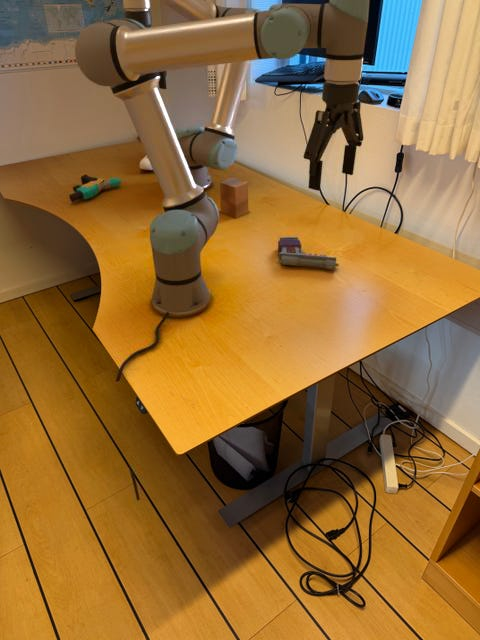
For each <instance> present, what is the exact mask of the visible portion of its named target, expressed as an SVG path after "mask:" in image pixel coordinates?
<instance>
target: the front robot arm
mask: <svg viewBox="0 0 480 640" xmlns="http://www.w3.org/2000/svg"><path fill="white" fill-rule="evenodd" d="M369 12H370V0H328V2H325V3H321V4H320V3H319V4H317V3H315V4H314V3H290V2H284V3H279V4H278V3H277V4H272V5H271V6H269V8H268V10H261V12H254V13H247V14H240V15H234V16H227V17H220V18H213V19H206V20H199V21H193V22H192V21H187V22H186V21H185V22H180V23H173V24H166V25H159V26H151V28H146V27H145V26H144V25H142V24H141V23H139V22H137V21H135V20H132V19H125V17H117V18H115V19H110V20H106V21H100V22H93V23H91V24H89V25H87V26H85V28H83V29H82V30H81V31H80V32H79V34H78V35H77V39H76V41H75V46H74V54H75V55H74V56H75V60H76V63H77V66H78V67H79V69H80V72H81V73H82V74H83V75H84V76H85V78H87V79H88V80H89V81H91V82H92V83H93V84H95V85H98V86H101V87H109V88H110V90H111V92H112V95H113V96H114V97H116V98H118V99H119V100H121V101H122V102H123V104H124V106H125V109H126V110H127V113H128V116H129V117H130V120H131V122H132V124H133V126H134V129H135V132H136V133H137V137H138V136H139V138H140V140H139V141H140V143H141V145H142V148H143V150H144V152H145V156H146V155H147V157H148V159H149V161H150V164H151V166H152V168H153V170H152V171H153V173H154V175H155V177H156V180H157V183H158V186H159V187H160V189H161V192H162V194H163V199H162V202H161V206H162V209H163V211H164V212H163V213H162V212H161V213H159V214H158V215H156V216H155V217H154V218H153V219H152V221H151V222H150V225H149V241H150V247H151V253H152V260H153V261H152V262H153V268H154V274H155V275H154V276H155V281H154V284H153V290H152V294H151V305H152V308H153V310H154V311H155V312H156V313H157V314H159V315H160V316H163V317H162V319H160V322H159V323H158V324H157V326H156V327H155V331H154V333H155V340H154V342H153V343H151V344H150V345H149V346H147V347H143V348H141V349H138V350H136V351H135V352H133V353H132V354H130V355H129V356H128V357H127V358H126V359H125V360H124V361H123V362H122V364H121V365H120V366H119V369H118V371H117V375H116V378H115V382H116V383H117V382H120V380H121V377H122V374H123V371H124V369H125V367H126V365H127V364H128V363H130V361H131V360H132V359H134V358H135V357H136V356H137V355H140V354H142V353H144V352H147V351H149V350H152V349H153V348H155V347H156V346H157V345H158V343H159V341H160V335H159V331H160V329H161V328H162V325H163V324H164V323H165V321H166V320H167V318H171V319H183V318H185V319H186V318H190V317H194V316H196V315H199V314H201V313H202V312H204V311H205V310H207V308H208V307H209V306H210V303H211V292H210V290H209V288H208V286H207V284H206V281H205V278H204V277H203V275H202V262H201V261H202V259H201V253H202V251H203V249H204V247H205V246H206V245H207V243H208V242H209V240H210V238H211V237H212V236H214V234H215V232H216V230H217V227H218V224H219V220H220V212H219V209H218V206H217V203H215V201H214V200H213V198H212V197H209V196H208V195H207V194H206V191H204V189H203V188H202V187H201V186H198V185H196V184H195V182H194V179H193V177H192V174H191V172H190V169H189V167H188V164H187V162H186V159H185V157H184V154H183V151H182V149H181V146H180V144H179V141H178V139H177V136H176V134H175V131H176V130H175V128H174V125H173V124H172V121H171V119H170V117H169V114H168V110H167V108H166V105H165V103H164V100H163V98H162V96H161V93H160V91H159V79H160V75H159V72H162V71H166V72H170V71H178V70H186V69H192V68H193V69H194V68H201V67H209V66H219V65H225V64H227V63H235V62H243V61H251V60H252V61H259V60H270V59H277V60H287V59H292V58H293V57H295V56H297V55H298V54H300V52H301V51H302V50H303V49H325V63H324V72H323V73H324V75H323V78H324V80H325V81H324V82H323V84H322V95H321V99H322V101H323V102H324V103H325V104H326V105H325V109H324V110H319V109H317V110H316V111H315V116H314V122H313V124H312V128H311V131H310V135H309V138H308V140H307V144H306V147H305V150H304V152H303V159H305V160H308V161H309V165H308V166H309V168H308V189H310V190H314V191H317V192H319V191H321V185H322V173H323V162H324V161H323V160H322V157H323V155H324V153H325V151H326V149H327V147H328V145H329V143H330V141H331V139H332V138H333V135H334V134H336V132H337V130H340V129H341V131H342V133H343V135H344V138H345V142H346V143H347V144H345V145H344V151H343V160H342V167H341V174H345V175H349V176H353V175H354V171H355V163H356V155H357V148H358V147H359V148H361V147H362V144H363V141H364V130H363V124H362V123H363V122H362V115H361V104H362V103H361V101H358V100H359V93H360V86H361V85H360V82H359V81H360V80H361V78H362V70H363V63H364V62H363V61H364V53H365V44H366V39H367V38H366V37H367V30H368V23H369ZM252 61H251V62H252ZM129 474H130V476H131V480H132V481H131V482H132V485H133V489H134V492H135V493H134V494H135V498H136V501H140V499H141V498H140V493H139V489H138V485H137V481H136V476H135V473H134V469H129Z"/></svg>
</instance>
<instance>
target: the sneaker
mask: <svg viewBox="0 0 480 640" xmlns="http://www.w3.org/2000/svg"><path fill="white" fill-rule="evenodd" d="M139 169H141V170H144V171H153V168H152V166H151V164H150V161H149V159H148V157H147V155H146V154H145V156H144V157H143V158H142V159H141V160H140V162H139Z"/></svg>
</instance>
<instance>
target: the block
mask: <svg viewBox="0 0 480 640" xmlns="http://www.w3.org/2000/svg"><path fill="white" fill-rule="evenodd" d="M219 201H220V202H219V203H220V213H221V214H224V215H227V216H229V217H232V218H234V219H237V218H240V217H241V216H243V215H245V214H248V213H249V182H248V181H245V180H243V179H239V178H237V177H230V178H227V179H225V180H221V181H219Z"/></svg>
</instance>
